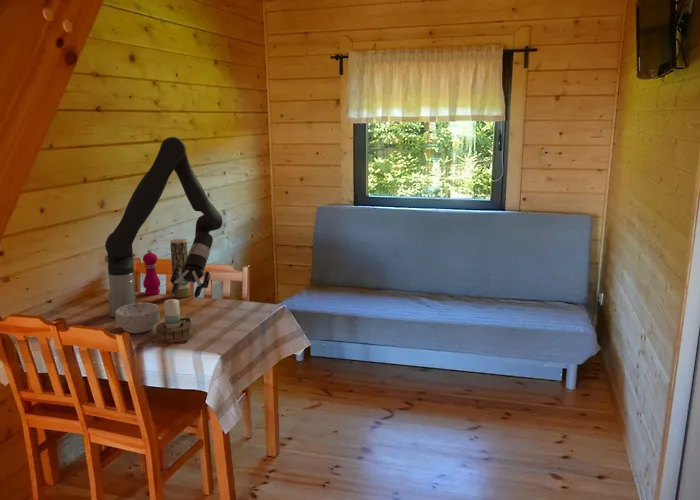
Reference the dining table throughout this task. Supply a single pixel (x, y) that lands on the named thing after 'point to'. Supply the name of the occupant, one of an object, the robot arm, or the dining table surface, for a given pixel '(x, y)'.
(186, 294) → the bark covered cylinder
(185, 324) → the holder
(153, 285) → the pepper mill
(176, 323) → the roll
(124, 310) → the paper bowls
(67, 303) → the dining table surface
